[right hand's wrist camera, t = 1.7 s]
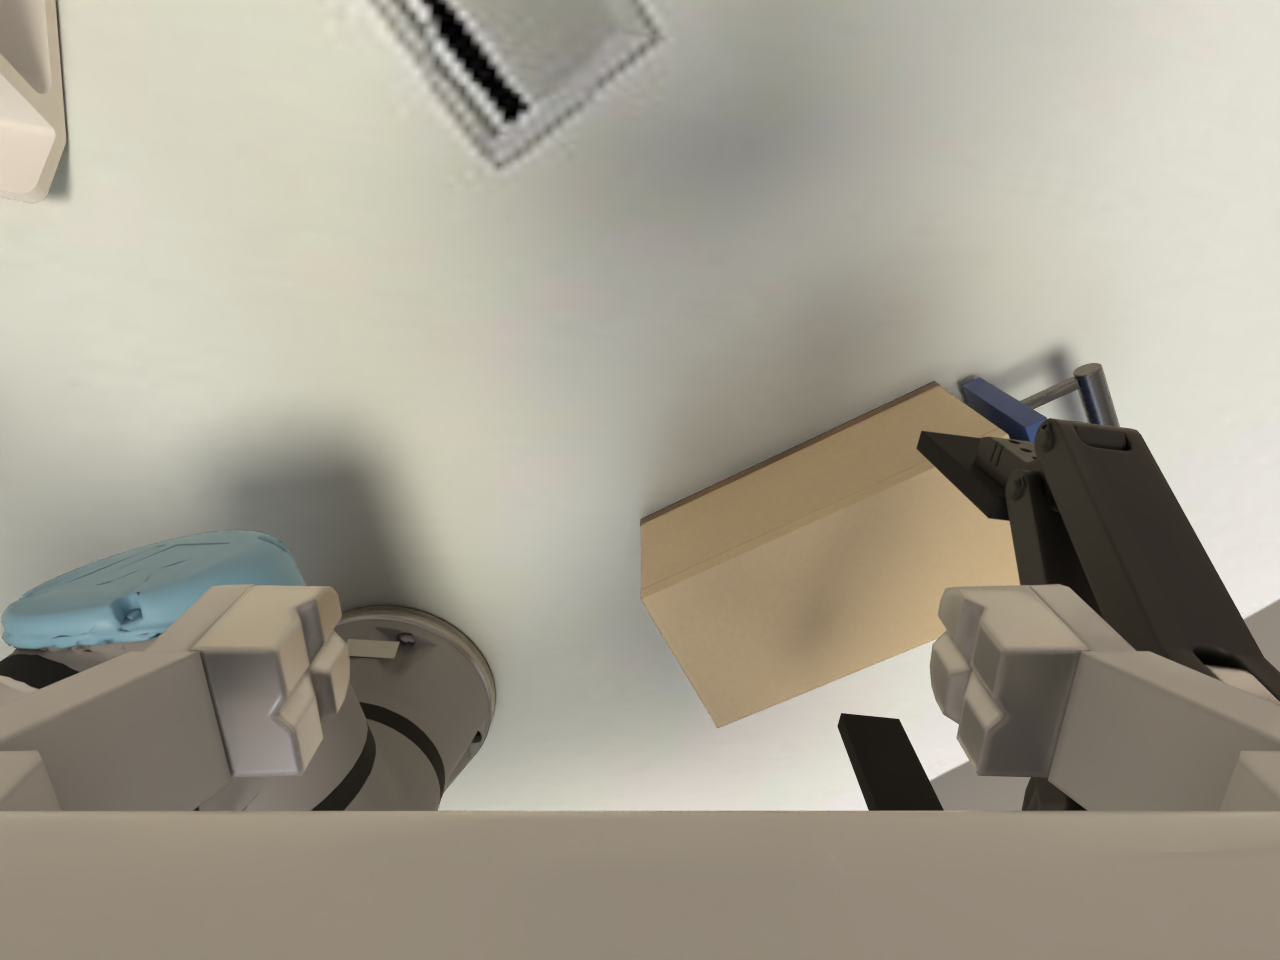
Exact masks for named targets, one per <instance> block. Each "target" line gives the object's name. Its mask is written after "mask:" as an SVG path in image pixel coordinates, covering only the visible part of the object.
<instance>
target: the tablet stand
mask: <svg viewBox="0 0 1280 960" xmlns="http://www.w3.org/2000/svg"><path fill="white" fill-rule="evenodd" d="M65 144H66V129H65V116H64V104H63V91H62V78H61V65H60V52H59V40H58V27H57V14H56V1H55V0H0V198H5V199H10V200H15V201H20V202H25V203H37V202H40V201H42V200H43V199H44V198H45V197H46V196H47V194H48V192H49V189H50V186H51V183H52V181H53V178H54V175H55V172H56V169H57V167H58V164H59V161H60V158H61V156H62V153H63V150H64V147H65Z"/></svg>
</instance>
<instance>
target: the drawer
mask: <svg viewBox="0 0 1280 960" xmlns="http://www.w3.org/2000/svg"><path fill="white" fill-rule="evenodd" d="M1073 375H1074V378H1073V377H1072V378H1070V379H1068V380H1065V381H1063V382H1061V383H1059V384H1057V385H1054V386H1052V387H1050V388H1048V389H1046V390H1043V391H1041V392H1039V393H1037V394H1035V395H1032V396H1030V397H1028V398H1026V399H1024V400H1022V401H1018V400H1016V399H1015V398H1013V397H1011V396H1010V395H1008V394H1006V393H1005V392H1003V391H1001V390H1000V389H998V388H996V387H995V386H993V385H991V384H990V383H988V382H986V381H985V380H983V379H981V378H980V377H979V378H976V379H974V380H972V381H970V382H968V383H966V384H964V385H962V388H963V391H964V393H965V396H966V399H967V402H968V404H969V407H970V408H971V409H973V410H974V411H976V412H977V413H978V414H980V415H981V416H983V417H984V418H986V419H987V420H988V421H990V422H991V423H993V424H994V425H995V426H997V427H998V428H1000V429H1001V430H1003V431H1004V432H1006V433H1007V434H1008V435H1009V438H1010V439H1013V440H1021V441H1029V442H1031V443H1033V444H1034V439H1035V436H1036V432H1037V430H1038V428H1039V426H1040V424H1041V423H1042V422H1043V421H1044V420H1046V419H1047V418H1046V417H1045V416H1043V415H1041V414H1040V413H1038V412H1036V411H1035V410H1033V409H1035V408H1037V407H1039V406H1041V405H1044V404H1046V403H1048V402H1050V401H1052V400H1055V399H1057V398H1059V397H1061V396H1063V395H1066V394H1068V393H1070V392H1072V391H1074V390H1077V389H1078V391H1079V394H1080V398H1081V401H1082V404H1083V407H1084V411H1085V414H1086V417H1087V420H1088V423H1091V424H1099V425H1106V426H1114V427H1120V426H1119V422H1118V419H1117V416H1116V412H1115V409H1114V405H1113V402H1112V399H1111V395H1110V392H1109V388H1108V385H1107V382H1106V378H1105V375H1104V371H1103V368H1102V365H1101V364H1099V363H1091V364H1086V365H1083V366H1081V367H1079V368H1077V369H1076V370H1075V371H1074V372H1073Z"/></svg>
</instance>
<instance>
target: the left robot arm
mask: <svg viewBox="0 0 1280 960" xmlns="http://www.w3.org/2000/svg"><path fill="white" fill-rule="evenodd" d="M916 449H917V450H918V451H919V452H920V453H921V454H922V455H923V456H924V457H925V458H926V459H927V460H928V461H929V462H931V463H932V464H933V465H934V466H935V467H936V468H937V469H938V470H939V471H940V472H941V473H942V474H943V475H944V476H945V477H946V478H947V479H948V480H949V481H950V482H951V483H952V484H953V485H954V486H955V487H956V488H957V489H959V490H960V491H961V492H962V493H963V494H964V495H965V496H966V497H967V498H968V499H969V500H970V501H971V502H972V503H973V504H974V505H975V506H976V507H977V508H978V509H979V510H980V511H981V512H982V513H983V514H984V515H985V516H987V517H988V518H989V519H997V520H1006V521H1010V527H1011V533H1012V539H1013V545H1014V551H1015V557H1016V563H1017V569H1018V575H1019V581H1020V585H1050V584H1060V585H1064V586H1067V587H1070V588H1071V589H1072V590H1073V591H1074V592H1075V593H1076V594H1077V595H1078V596H1079V597H1080V598H1081V599H1082V600H1083V601H1084V602H1085V603H1086V604H1087V605H1089V606H1090V607H1091V608H1092V609H1093V610H1094V611H1095V612H1096V613H1097V614H1098V615H1099V616H1100V617H1101V618H1102V619H1103V620H1104V621H1105V622H1106V623H1108V624H1109V625H1110V626H1111V627H1112V628H1113V629H1114V630H1115V631H1116V632H1117V633H1118V634H1119V635H1120V636H1121V637H1122V638H1123V639H1124V640H1126V641H1127V642H1128V643H1129V644H1130V645H1131V646H1132V647H1133V648H1134V649H1135V650H1136V651H1150V652H1152V653H1155V654H1157V655H1160V656H1162V657H1164V658H1167V659H1169V660H1172V661H1174V662H1176V663H1179V664H1181V665H1183V666H1186V667H1188V668H1191V669H1193V670H1195V671H1198V672H1200V673H1203V674H1205V675H1207V676H1210V677H1212V678H1215V679H1217V680H1219V681H1222V682H1224V683H1227V684H1229V685H1231V686H1234V687H1236V688H1239V689H1241V690H1243V691H1246V692H1248V693H1251V694H1253V695H1255V696H1258V697H1260V698H1263V699H1265V700H1267V701H1270V702H1272V703H1275V704H1277V705H1279V706H1280V672H1279V671H1278V670H1277V669H1276V668H1275V667H1273V666H1272V665H1271V664H1270V663H1269V662H1268V661H1267V660H1266V659H1265V658H1264V656H1263V655H1262V653H1261V651H1260V649H1259V647H1258V646H1257V644H1256V642H1255V640H1254V638H1253V637H1252V635H1251V633H1250V631H1249V629H1248V628H1247V626H1246V624H1245V622H1244V620H1243V618H1242V617H1241V615H1240V613H1239V611H1238V609H1237V608H1236V606H1235V604H1234V602H1233V600H1232V599H1231V597H1230V595H1229V593H1228V591H1227V590H1226V588H1225V586H1224V584H1223V582H1222V580H1221V579H1220V577H1219V575H1218V573H1217V571H1216V570H1215V568H1214V566H1213V564H1212V562H1211V561H1210V559H1209V557H1208V555H1207V553H1206V552H1205V550H1204V548H1203V546H1202V544H1201V542H1200V541H1199V539H1198V537H1197V535H1196V533H1195V532H1194V530H1193V528H1192V526H1191V524H1190V523H1189V521H1188V519H1187V517H1186V515H1185V514H1184V512H1183V510H1182V508H1181V506H1180V504H1179V503H1178V501H1177V499H1176V497H1175V495H1174V494H1173V492H1172V490H1171V488H1170V486H1169V485H1168V483H1167V481H1166V479H1165V477H1164V476H1163V474H1162V472H1161V470H1160V468H1159V466H1158V465H1157V463H1156V461H1155V459H1154V457H1153V456H1152V454H1151V452H1150V450H1149V448H1148V447H1147V445H1146V443H1145V441H1144V439H1143V438H1142V436H1141V434H1140V433H1139V432H1138V431H1137V430H1134V429H1130V428H1122V427H1114V426H1106V425H1099V424H1091V423H1083V422H1075V421H1067V420H1059V419H1051V418H1049V419H1046V420H1044V421H1043V422H1042V423H1041V424H1040V426H1039V428H1038V430H1037V432H1036V436H1035V439H1034V444H1033V443H1031V442H1029V441H1021V440H1013V439H1005V438H997V437H981V438H976V437H968V436H960V435H952V434H944V433H936V432H928V431H921V434H920V437H919V441H918V444H917V448H916ZM244 584H254V585H256V586H257V585H283V586H307V585H306V583H305V581H304V579H303V577H302V575H301V573H300V571H299V569H298V567H297V565H296V563H295V561H294V559H293V557H292V555H291V553H290V552H289V550H288V549H287V547H286V546H285V545H284V544H283V543H282V542H281V541H279V540H278V539H276V538H275V537H273V536H271V535H268V534H265V533H262V532H258V531H251V530H226V531H215V532H208V533H201V534H196V535H190V536H185V537H180V538H176V539H171V540H167V541H163V542H159V543H155V544H151V545H147V546H144V547H140V548H137V549H133V550H130V551H127V552H123V553H120V554H117V555H114V556H111V557H108V558H105V559H102V560H99V561H96V562H94V563H91V564H88V565H85V566H83V567H80V568H78V569H75V570H72V571H70V572H68V573H65V574H63V575H60V576H58V577H56V578H54V579H52V580H49V581H47V582H45V583H43V584H41V585H39V586H37V587H35V588H33V589H32V590H30V591H28V592H27V593H25V594H24V595H22V596H21V598H20V599H19V600H18V601H16V602H14V603H12V604H10V605H9V607H8V608H7V609H6V610H5V612H4V613H3V616H2V625H3V627H4V629H5V630H4V632H3V637H2V638H3V639H4V641H5V642H6V643H7V644H8V645H9V646H13V647H15V648H16V649H15V651H14V652H13V653H12V654H11V655H9V656H8V657H6V658H5V659H3V660H2V661H0V705H3V704H5V703H8V702H10V701H12V700H15V699H17V698H20V697H22V696H24V695H27V694H29V693H32V692H34V691H36V690H39V689H41V688H44V687H46V686H48V685H51V684H53V683H56V682H58V681H60V680H63V679H65V678H68V677H70V676H72V675H75V674H77V673H80V672H82V671H84V670H87V669H89V668H92V667H94V666H96V665H99V664H101V663H104V662H106V661H108V660H111V659H113V658H116V657H118V656H120V655H123V654H125V653H128V652H130V651H144V650H145V649H146V648H147V647H148V646H149V645H150V644H151V643H152V642H154V641H155V640H156V639H157V638H158V637H159V636H160V635H161V634H162V633H163V632H164V631H165V630H166V629H167V628H168V627H169V626H170V625H172V624H173V623H174V622H175V621H176V620H177V619H178V618H179V617H180V616H181V615H182V614H183V613H184V612H185V611H186V610H187V609H188V608H190V607H191V606H192V605H193V604H194V603H195V602H196V601H197V600H198V599H199V598H200V597H201V596H202V595H203V594H204V593H205V592H207V591H208V590H209V589H210V588H211V587H212V586H219V585H244ZM334 631H335V632H336V633H337V634H338V635H339V636H340V637H341V638H342V639H343V640H344V641H345V643H346V644H347V646H348V652H349V658H350V679H349V683H348V687H347V692H346V696H345V700H344V701H343V703H342V705H341V707H340V709H339V711H338V713H337V714H336V715H335V716H333V717H332V718H330V719H329V720H327V721H325V722H324V723H322V724H321V728H322V733H323V740H322V741H321V743H320V745H319V747H318V748H317V750H316V752H315V754H314V755H313V757H312V759H311V761H310V762H309V764H308V766H307V768H306V769H305V771H304V773H303V775H302V776H270V777H234V778H232V781H231V782H230V783H229V784H227V785H226V786H225V787H223V788H222V789H221V790H219V791H218V792H217V793H215V794H214V795H213V796H211V797H210V798H209V799H207V800H206V801H205V802H204V803H202V804H201V805H200V806H198V807H197V808H196V809H194V810H193V811H438V807H439V804H440V801H441V798H442V795H443V793H444V791H445V790H446V789H447V788H448V787H449V785H450V784H451V783H452V782H453V781H454V779H455V778H456V777H457V776H458V775H459V774H460V772H461V771H462V770H463V769H464V768H465V766H466V765H467V764H468V763H469V762H470V760H471V759H472V758H473V757H474V756H475V754H476V753H477V752H478V751H479V749H480V748H481V746H482V744H483V743H484V741H485V739H486V736H487V734H488V730H489V727H490V723H491V719H492V716H493V712H494V707H495V687H494V682H493V678H492V675H491V672H490V670H489V667H488V665H487V663H486V661H485V660H484V658H483V656H482V655H481V653H480V652H479V651H478V649H477V648H476V647H475V646H474V645H473V643H472V642H471V641H470V640H469V639H468V638H467V637H465V636H464V635H463V634H462V633H461V632H459V631H458V630H457V629H456V628H454V627H453V626H451V625H449V624H448V623H446V622H444V621H443V620H441V619H439V618H437V617H434V616H432V615H430V614H427V613H424V612H421V611H418V610H414V609H410V608H405V607H399V606H387V605H386V606H367V607H362V608H357V609H353V610H349V611H346V612H344V613H342V617H341V619H340V620H339V622H338V623H337V625H336V627H335V628H334ZM838 729H839V732H840V734H841V737H842V740H843V742H844V745H845V748H846V751H847V753H848V756H849V759H850V761H851V764H852V767H853V769H854V772H855V775H856V777H857V780H858V783H859V785H860V788H861V791H862V793H863V796H864V799H865V802H866V804H867V807H868V810H869V811H944V810H943V808H942V806H941V804H940V802H939V800H938V798H937V796H936V794H935V792H934V790H933V787H932V785H931V783H930V781H929V779H928V777H927V775H926V773H925V771H924V769H923V767H922V765H921V763H920V761H919V759H918V757H917V755H916V753H915V751H914V749H913V747H912V745H911V743H910V741H909V739H908V736H907V734H906V732H905V730H904V728H903V726H902V724H901V722H900V720H899V719H893V718H883V717H873V716H864V715H854V714H844V713H841V716H840V719H839V723H838ZM1022 811H1087V810H1086V809H1085V808H1083V807H1082V806H1081V805H1079V804H1078V803H1077V802H1075V801H1074V800H1073V799H1071V798H1070V797H1069V796H1068V795H1066V794H1065V793H1064V792H1062V791H1061V790H1060V789H1058V788H1057V787H1056V786H1054V785H1053V784H1052V783H1050V782H1049V781H1048V778H1046V777H1031V778H1030V781H1029V783H1028V786H1027V788H1026V791H1025V796H1024V802H1023V807H1022Z"/></svg>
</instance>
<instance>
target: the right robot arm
mask: <svg viewBox="0 0 1280 960" xmlns="http://www.w3.org/2000/svg"><path fill="white" fill-rule="evenodd" d="M341 617H342V611H341V606H340V602H339V597H338V594H337V592H336V591H335V590H334V589H333V588H332V587H331V586H283V585H257V586H256V585H254V584H244V585H219V586H212V587H211V588H210V589H209V590H208V591H207V592H205V593H204V594H203V595H202V596H201V597H200V598H199V599H198V600H197V601H196V602H195V603H194V604H193V605H192V606H191V607H190V608H188V609H187V610H186V611H185V612H184V613H183V614H182V615H181V616H180V617H179V618H178V619H177V620H176V621H175V622H174V623H173V624H172V625H170V626H169V627H168V628H167V629H166V630H165V631H164V632H163V633H162V634H161V635H160V636H159V637H158V638H157V639H156V640H155V641H154V642H152V643H151V644H150V645H149V646H148V647H147V648H146V649H145V650H144V651H130V652H128V653H125V654H123V655H120V656H118V657H116V658H113V659H111V660H108V661H106V662H104V663H101V664H99V665H96V666H94V667H92V668H89V669H87V670H84V671H82V672H80V673H77V674H75V675H72V676H70V677H68V678H65V679H63V680H60V681H58V682H56V683H53V684H51V685H48V686H46V687H44V688H41V689H39V690H36V691H34V692H32V693H29V694H27V695H24V696H22V697H20V698H17V699H15V700H12V701H10V702H8V703H5V704H3V705H0V960H1280V706H1279V705H1277V704H1275V703H1272V702H1270V701H1267V700H1265V699H1263V698H1260V697H1258V696H1255V695H1253V694H1251V693H1248V692H1246V691H1243V690H1241V689H1239V688H1236V687H1234V686H1231V685H1229V684H1227V683H1224V682H1222V681H1219V680H1217V679H1215V678H1212V677H1210V676H1207V675H1205V674H1203V673H1200V672H1198V671H1195V670H1193V669H1191V668H1188V667H1186V666H1183V665H1181V664H1179V663H1176V662H1174V661H1172V660H1169V659H1167V658H1164V657H1162V656H1160V655H1157V654H1155V653H1152V652H1150V651H1136V650H1135V649H1134V648H1133V647H1132V646H1131V645H1130V644H1129V643H1128V642H1127V641H1126V640H1124V639H1123V638H1122V637H1121V636H1120V635H1119V634H1118V633H1117V632H1116V631H1115V630H1114V629H1113V628H1112V627H1111V626H1110V625H1109V624H1108V623H1106V622H1105V621H1104V620H1103V619H1102V618H1101V617H1100V616H1099V615H1098V614H1097V613H1096V612H1095V611H1094V610H1093V609H1092V608H1091V607H1090V606H1089V605H1087V604H1086V603H1085V602H1084V601H1083V600H1082V599H1081V598H1080V597H1079V596H1078V595H1077V594H1076V593H1075V592H1074V591H1073V590H1072V589H1071V588H1070V587H1067V586H1064V585H1060V584H1050V585H1010V586H969V587H950V588H946V589H945V591H944V593H943V595H942V597H941V600H940V605H939V611H938V617H939V619H940V620H941V622H942V623H943V625H944V627H945V628H946V631H945V632H944V633H943V634H942V635H941V636H940V637H939V638H938V639H937V640H936V641H935V643H934V644H933V646H932V653H931V661H930V674H931V685H932V689H933V692H934V696H935V699H936V702H937V704H938V705H939V707H940V709H941V711H942V713H943V714H944V715H945V716H947V717H948V718H950V719H952V720H953V721H955V722H956V723H958V724H959V728H958V733H957V740H958V741H959V743H960V745H961V747H962V748H963V750H964V752H965V753H966V755H967V757H968V759H969V760H970V762H971V764H972V766H973V767H974V769H975V771H976V773H977V774H978V776H1010V777H1046V778H1048V781H1049V782H1050V783H1052V784H1053V785H1054V786H1056V787H1057V788H1058V789H1060V790H1061V791H1062V792H1064V793H1065V794H1066V795H1068V796H1069V797H1070V798H1071V799H1073V800H1074V801H1075V802H1077V803H1078V804H1079V805H1081V806H1082V807H1083V808H1085V809H1086V810H1087V811H193V810H194V809H196V808H197V807H198V806H200V805H201V804H202V803H204V802H205V801H206V800H207V799H209V798H210V797H211V796H213V795H214V794H215V793H217V792H218V791H219V790H221V789H222V788H223V787H225V786H226V785H227V784H229V783H230V782H231V781H232V778H234V777H270V776H302V775H303V773H304V771H305V769H306V768H307V766H308V764H309V762H310V761H311V759H312V757H313V755H314V754H315V752H316V750H317V748H318V747H319V745H320V743H321V741H322V740H323V733H322V728H321V724H322V723H324V722H325V721H327V720H329V719H330V718H332V717H333V716H335V715H336V714H337V713H338V711H339V709H340V707H341V705H342V703H343V701H344V700H345V696H346V692H347V687H348V683H349V679H350V658H349V652H348V646H347V644H346V643H345V641H344V640H343V639H342V638H341V637H340V636H339V635H338V634H337V633H336V632H335V631H334V628H335V627H336V625H337V623H338V622H339V620H340V619H341Z"/></svg>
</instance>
